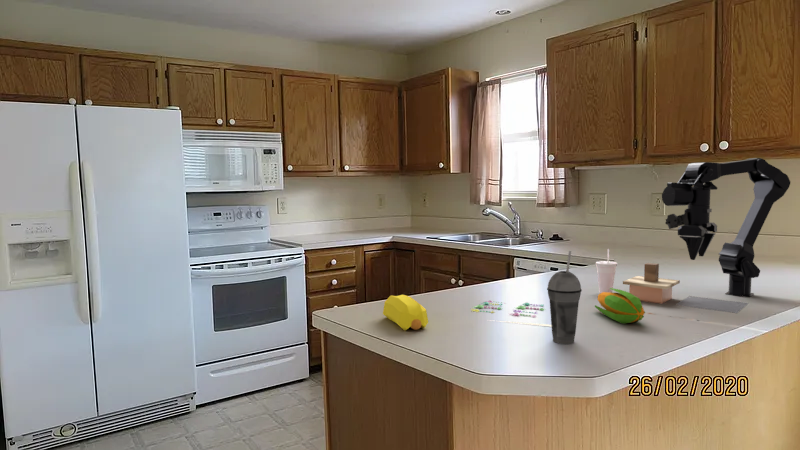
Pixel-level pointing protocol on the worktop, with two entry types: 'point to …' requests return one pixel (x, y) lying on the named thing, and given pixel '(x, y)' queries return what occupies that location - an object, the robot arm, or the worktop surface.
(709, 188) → the robot arm
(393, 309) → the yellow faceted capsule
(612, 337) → the worktop surface
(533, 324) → the printed paper
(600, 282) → the smoothie
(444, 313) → the worktop surface
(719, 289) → the worktop surface
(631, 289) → the open box
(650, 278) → the lid
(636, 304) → the corn
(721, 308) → the mat
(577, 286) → the beverage cup
